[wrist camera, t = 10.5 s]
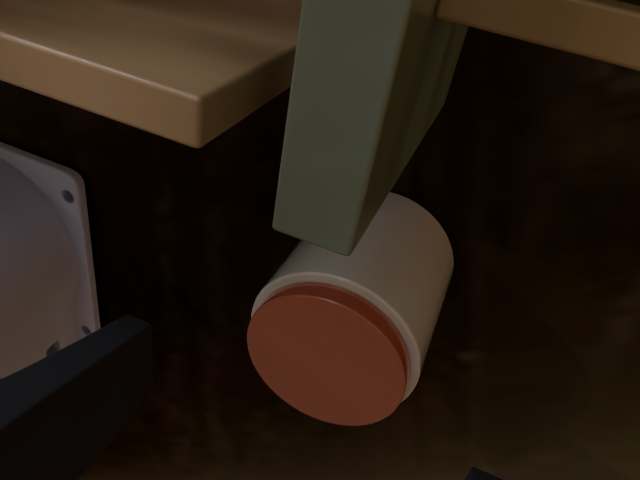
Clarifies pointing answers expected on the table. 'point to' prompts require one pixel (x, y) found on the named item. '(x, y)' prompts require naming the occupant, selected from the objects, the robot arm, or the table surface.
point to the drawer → (290, 77)
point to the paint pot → (354, 318)
